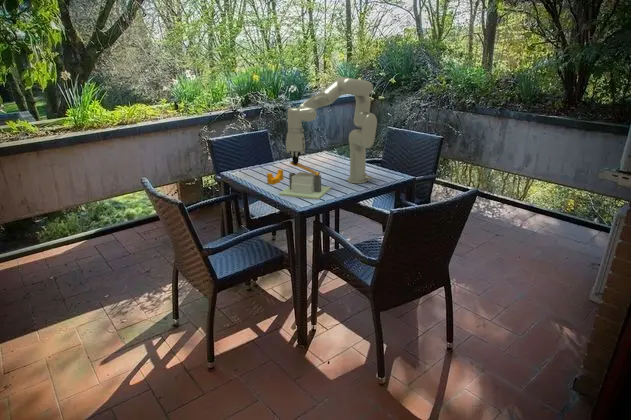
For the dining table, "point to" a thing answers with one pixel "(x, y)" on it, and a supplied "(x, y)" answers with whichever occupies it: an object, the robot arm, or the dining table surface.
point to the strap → (306, 168)
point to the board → (309, 196)
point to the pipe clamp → (276, 179)
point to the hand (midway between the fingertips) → (295, 163)
